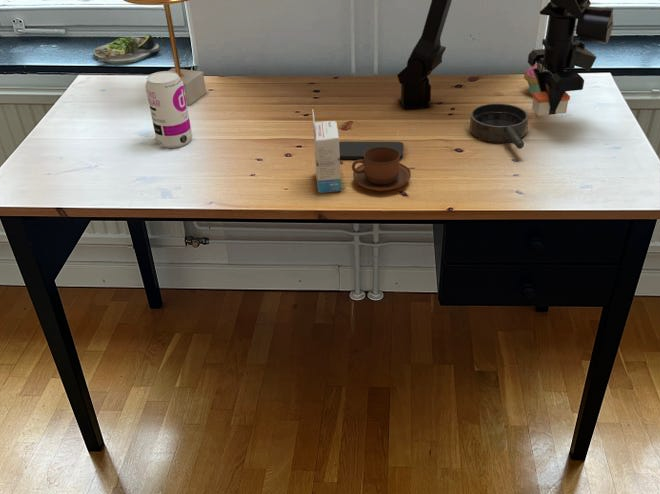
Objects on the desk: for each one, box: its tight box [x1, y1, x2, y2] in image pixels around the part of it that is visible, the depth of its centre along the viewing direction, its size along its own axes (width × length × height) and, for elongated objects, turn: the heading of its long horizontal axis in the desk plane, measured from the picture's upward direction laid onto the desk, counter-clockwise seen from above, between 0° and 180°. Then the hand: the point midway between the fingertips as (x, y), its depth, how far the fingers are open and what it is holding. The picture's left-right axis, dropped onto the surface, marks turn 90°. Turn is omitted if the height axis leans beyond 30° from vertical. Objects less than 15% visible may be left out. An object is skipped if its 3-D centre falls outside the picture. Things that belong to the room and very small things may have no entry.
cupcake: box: [523, 63, 540, 96], centre depth 192 cm, size 9×8×12 cm
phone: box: [339, 141, 404, 160], centre depth 173 cm, size 7×1×15 cm
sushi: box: [531, 91, 571, 117], centre depth 177 cm, size 7×4×4 cm, turn 100°
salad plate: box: [92, 33, 163, 65], centre depth 222 cm, size 19×18×5 cm
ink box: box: [311, 108, 342, 194], centre depth 158 cm, size 9×5×15 cm, turn 5°
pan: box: [468, 103, 529, 144], centre depth 178 cm, size 13×13×4 cm
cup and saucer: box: [351, 147, 412, 192], centre depth 160 cm, size 12×12×6 cm
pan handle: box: [505, 127, 525, 150], centre depth 169 cm, size 9×2×2 cm, turn 10°
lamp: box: [123, 0, 207, 106], centre depth 187 cm, size 21×21×41 cm
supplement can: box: [145, 70, 193, 149], centre depth 175 cm, size 8×8×15 cm
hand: (549, 106), depth 178 cm, fingers closed on sushi, 4 cm apart
